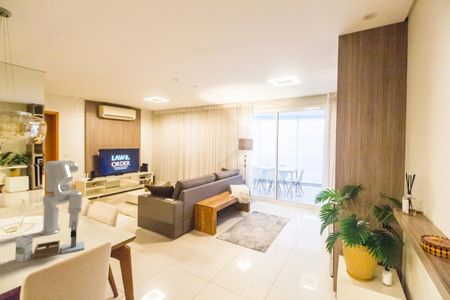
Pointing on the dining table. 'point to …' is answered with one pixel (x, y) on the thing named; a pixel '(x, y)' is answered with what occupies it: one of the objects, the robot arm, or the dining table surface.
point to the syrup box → (24, 248)
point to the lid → (73, 246)
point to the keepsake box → (46, 249)
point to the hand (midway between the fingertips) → (73, 233)
